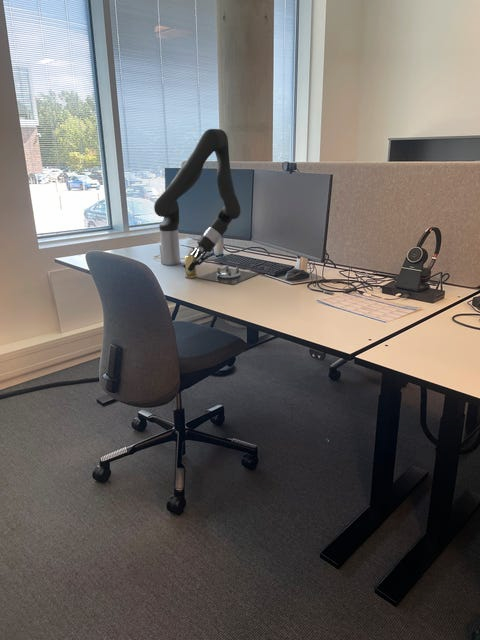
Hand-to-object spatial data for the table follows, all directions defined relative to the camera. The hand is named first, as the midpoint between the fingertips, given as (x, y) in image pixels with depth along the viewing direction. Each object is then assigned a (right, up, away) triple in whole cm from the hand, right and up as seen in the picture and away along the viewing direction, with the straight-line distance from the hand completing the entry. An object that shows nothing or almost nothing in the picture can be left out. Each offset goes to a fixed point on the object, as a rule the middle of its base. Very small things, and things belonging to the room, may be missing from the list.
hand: (186, 268), depth 207 cm
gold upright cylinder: (+2, -3, +2) cm, 5 cm away
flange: (+19, -3, +2) cm, 19 cm away
